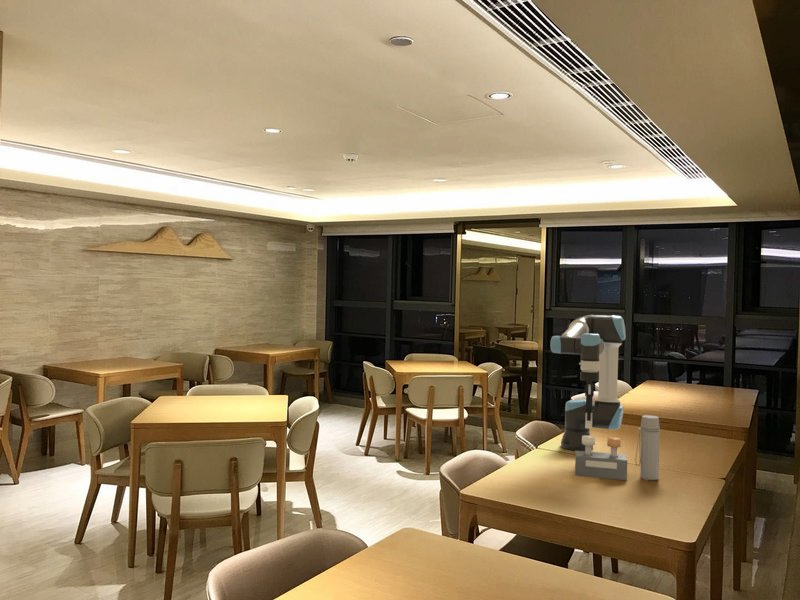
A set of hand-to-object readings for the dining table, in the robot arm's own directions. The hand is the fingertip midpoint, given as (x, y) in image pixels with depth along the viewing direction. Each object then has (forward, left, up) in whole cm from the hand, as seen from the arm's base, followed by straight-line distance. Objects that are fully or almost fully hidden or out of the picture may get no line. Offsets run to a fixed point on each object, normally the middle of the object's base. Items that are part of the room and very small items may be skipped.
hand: (588, 428), depth 264 cm
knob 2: (0, +10, -15) cm, 18 cm away
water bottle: (-1, +23, -19) cm, 30 cm away
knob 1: (0, 0, -15) cm, 15 cm away
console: (0, +5, -19) cm, 20 cm away
